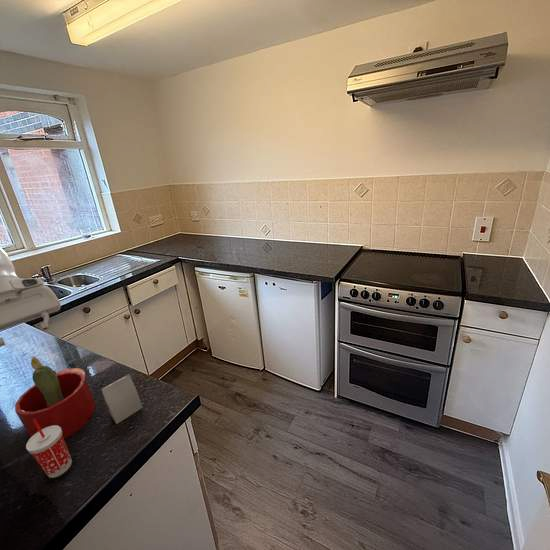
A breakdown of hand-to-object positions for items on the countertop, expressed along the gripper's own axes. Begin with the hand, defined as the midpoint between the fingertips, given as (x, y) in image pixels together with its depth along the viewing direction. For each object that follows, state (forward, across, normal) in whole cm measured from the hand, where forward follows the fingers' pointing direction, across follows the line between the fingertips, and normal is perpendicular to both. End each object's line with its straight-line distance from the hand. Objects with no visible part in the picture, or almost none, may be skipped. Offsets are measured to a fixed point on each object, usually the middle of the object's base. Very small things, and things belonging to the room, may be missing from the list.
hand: (24, 337), depth 78 cm
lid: (+10, +2, +20) cm, 22 cm away
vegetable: (+22, 0, +8) cm, 24 cm away
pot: (+23, 0, +8) cm, 24 cm away
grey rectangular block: (+31, +12, 0) cm, 33 cm away
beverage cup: (+34, -4, -3) cm, 34 cm away
